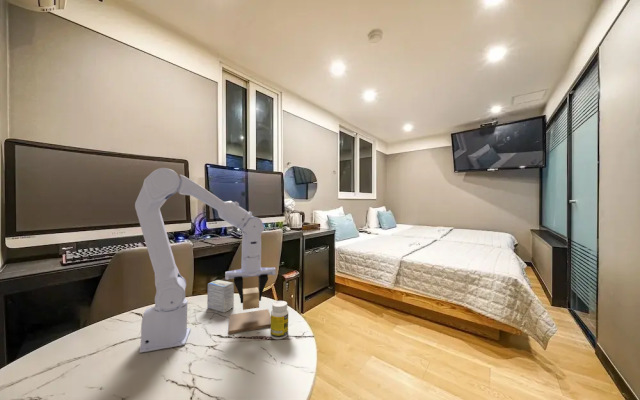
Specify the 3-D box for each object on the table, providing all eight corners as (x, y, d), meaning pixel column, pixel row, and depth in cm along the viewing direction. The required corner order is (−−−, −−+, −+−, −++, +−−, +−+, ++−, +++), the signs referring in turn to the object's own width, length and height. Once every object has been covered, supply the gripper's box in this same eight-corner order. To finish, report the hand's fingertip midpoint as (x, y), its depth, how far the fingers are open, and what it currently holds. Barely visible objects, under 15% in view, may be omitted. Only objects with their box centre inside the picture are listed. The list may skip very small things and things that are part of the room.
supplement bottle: (286, 340, 59) (286, 307, 60) (268, 339, 60) (269, 307, 60) (289, 330, 64) (289, 300, 65) (272, 330, 64) (273, 299, 65)
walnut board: (228, 334, 62) (228, 331, 62) (229, 317, 71) (229, 314, 71) (272, 326, 66) (272, 323, 66) (268, 311, 76) (268, 309, 76)
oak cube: (243, 309, 66) (243, 294, 66) (242, 303, 70) (242, 288, 70) (259, 307, 68) (259, 292, 68) (257, 301, 72) (257, 287, 72)
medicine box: (234, 308, 78) (234, 282, 79) (223, 313, 74) (224, 286, 74) (217, 303, 82) (218, 279, 82) (206, 308, 78) (207, 282, 78)
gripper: (225, 260, 63) (224, 309, 63) (277, 256, 68) (276, 302, 68) (226, 255, 70) (225, 300, 69) (273, 252, 75) (273, 294, 74)
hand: (250, 300), depth 69 cm, fingers closed on oak cube, 4 cm apart
